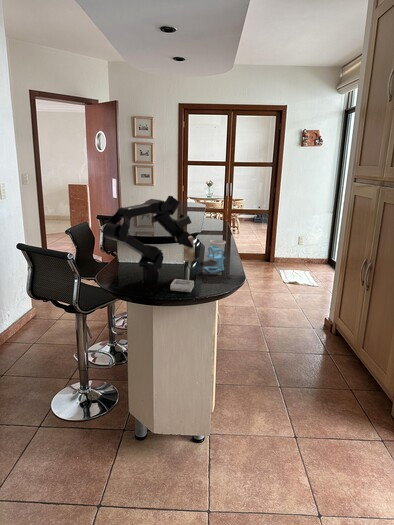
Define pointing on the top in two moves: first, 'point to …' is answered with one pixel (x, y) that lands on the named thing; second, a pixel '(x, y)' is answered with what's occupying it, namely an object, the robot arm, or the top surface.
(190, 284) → the socket plate
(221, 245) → the dixie cup
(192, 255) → the keyed post
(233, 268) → the top surface
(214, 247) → the chair
